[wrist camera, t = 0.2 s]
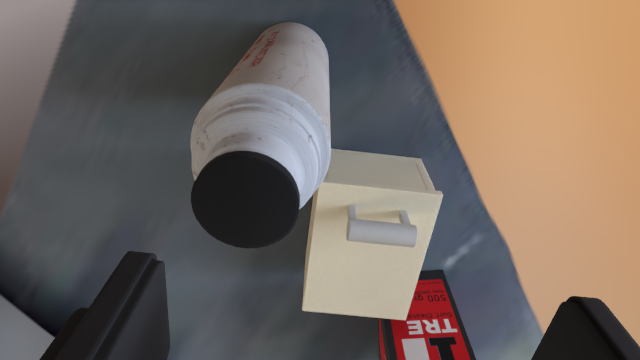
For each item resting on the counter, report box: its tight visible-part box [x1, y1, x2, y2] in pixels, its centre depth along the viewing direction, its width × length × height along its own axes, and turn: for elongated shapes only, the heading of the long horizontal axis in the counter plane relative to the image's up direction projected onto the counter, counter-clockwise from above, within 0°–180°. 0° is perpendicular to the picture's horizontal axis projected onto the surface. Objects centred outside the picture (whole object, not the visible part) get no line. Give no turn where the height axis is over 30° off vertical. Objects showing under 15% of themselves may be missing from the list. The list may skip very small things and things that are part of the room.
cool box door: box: [302, 179, 443, 320], centre depth 41 cm, size 17×12×5 cm
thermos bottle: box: [191, 22, 331, 248], centre depth 31 cm, size 8×8×28 cm
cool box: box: [302, 149, 435, 305], centre depth 48 cm, size 16×12×9 cm
